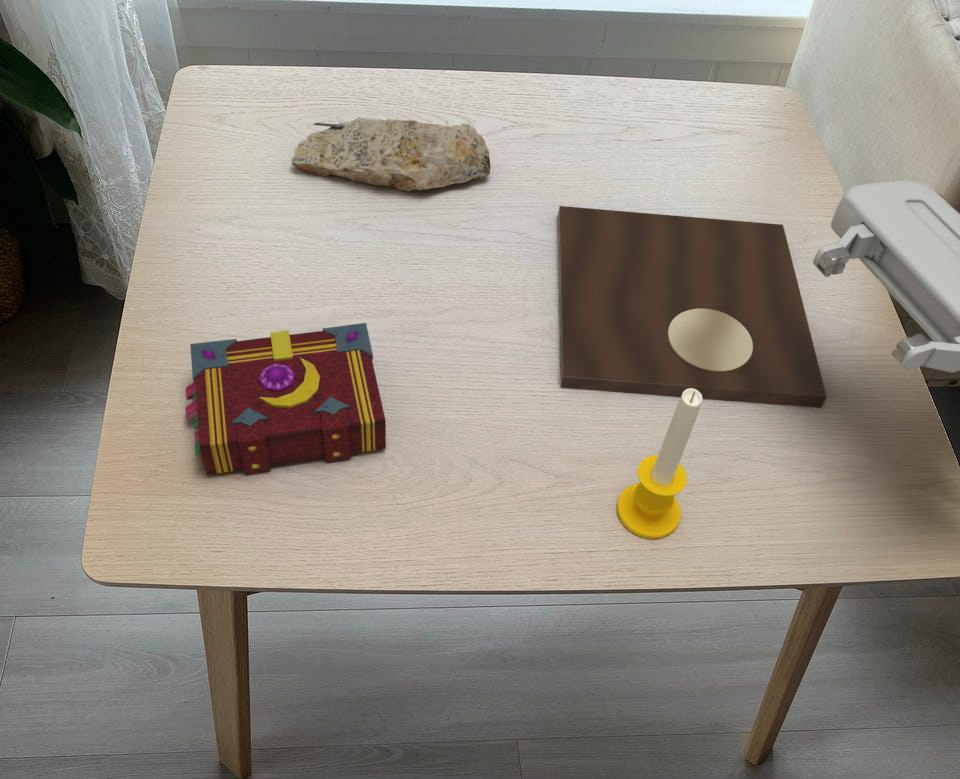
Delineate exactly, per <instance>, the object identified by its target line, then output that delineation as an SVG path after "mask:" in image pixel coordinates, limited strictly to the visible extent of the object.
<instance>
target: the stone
mask: <svg viewBox="0 0 960 779" xmlns="http://www.w3.org/2000/svg"><path fill="white" fill-rule="evenodd" d="M313 126H319V127H320V126H321V127H329V128H327V129H324V130H318V131H316V132H312V133H310V134H309V135H307V136H306V138H305V139H304V140H302V141H300V142H299V143H298V145H297V147H295V149H294V156H293V157H291V165H292V166H294V167H296V168H298V170H300V171H304V172H306V173H311V174H314V175H317V176H321V177H328V176H330V175H331V176H334V177H335V176H338V177H342V178H344V179H348V180H351V181H353V182H356V183H357V182H358V183H365V184H369V185H373V186H385V187H389V188H393V189H398V190H400V191H406V192H411V191H413V190H419V191H422V190H429V189H434V188H435V189H436V188H445V187H446V186H451V185H453V184H463V183H467V182H469V181H470V180H472V179H477V178H483V177H487V176H489V175H490V174H491V169H492V168H491V159H490V151H489V148H488V147H487V144H486V140H485V138H484V137H483V136H482V135H481V134H479V133H478V131H477V130H476V128H475V127H474V126H472V125H471V124H468V123H464V122H463V123H461V124H460V125H459V124H455V125H451V126H446V125H443V124H439V123H428V122H421V121H417V120H404V119H393V118H391V119H379V118H377V119H375V118H374V119H373V118H372V119H371V118H364V117H357V118H355V119H353V120H351V121H345V122H339V123H337V124H336V123H325V122H322V123H321V122H315V123H313Z"/></svg>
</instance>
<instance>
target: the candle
mask: <svg viewBox="0 0 960 779" xmlns="http://www.w3.org/2000/svg"><path fill="white" fill-rule="evenodd" d="M702 403H703V398H702V395H701V393H700V392H699V391H698V390H696V389H693V388H689V389H686V390H685V391H684V392H683V393H682V396H681V397H680V398H679V400H678V402H677V405H676V407H675V409H674V412H673V415H672V418H671V420H670V423H669V426H668V428H667V431H666V433H665V436H664V439H663V441H662V444H661V447H660V450H659V452H658V454H653V455H649V456H646V457H645V458H643V459H642V461H641V462H640V463H639V465H638V467H637V478H638V481H639V482H637V483H633V484H631V485H629V486H628V487H626V488H624V489H623V491H622V492H621V493H620V495H619V497H618V500H617V504H616V506H617V507H616V512H617V516H618V518H619V520H620V522H621V524H622V525H623V526H624V527H625V528H626V529H627V530H628V531H629V532H631V533H632V534H634V535H635V536H638V537H640V538H643V539H644V538H645V539H649V540H656V539H662V538H665V537H668V536H670V535H671V534H673V533H674V532H675V531H676V529H677V527H678V526H679V524H680V521H681V518H682V515H681V514H682V511H681V507H680V503H679V502H678V500H677V498H676V497H675V495H678V494H679V493H681V492H682V491H683V490H684V489H685V488H686V485H687V482H688V475H687V472H686V470H685V468H684V467H683V465H682V464H681V463H680V462H681V459H682V456H683V455H684V451H685V450H686V447H687V444H688V442H689V439H690V436H691V433H692V431H693V428H694V425H695V423H696V420H697V418H698V415H699V412H700V409H701V407H702Z"/></svg>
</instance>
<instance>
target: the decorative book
mask: <svg viewBox="0 0 960 779" xmlns="http://www.w3.org/2000/svg"><path fill="white" fill-rule="evenodd" d="M367 325H368V324H367V322H361V323H353V324H348V325H347V324H345V325H339V326H331V327H323V328H322V330H319V331H311V332H302V333H294V334H290V330H289V329H288V330H287V329H286V330H279V331H270V333H269V334H270V336H268V337H260V338H252V339H245V340H243V339H242V340H237V338H231V339H230V338H229V339H223V340H213V341H204V342H195V343H190V344H189V345H190V346H189V347H190V359H191V360H190V361H191V372H192V373H191V375H192V381H193V382H192V383H191V384H189V385H187V386H186V387H185V400H188V399H189V398H191V397H192V402H190V403H188V404H187V405H185V407H184V408H185V419H186V420H187V419H189V418H190V417H191V416H193V415H194V414H195V413H196V414H197V415H196V416H195V417H194V451H195V457H197V456H198V455H199V453H200V454H201V459H202V462H203V467H204V471H205V474H206V476H209V475H218V474H223V473H230V472H236V471H237V472H238V471H244V474H245V475H252V474H258V473H264V472H265V473H266V472H271V471H272V469H271V466H277V465H284V464H291V463H297V462H298V463H299V462H305V461H312V460H317V459H324V458H325V459H324V460H325V463H330V462H339V461H343V460H351V459H352V457H351V455H352V454H359V453H364V452H366V453H367V452H373V451H378V450H386V449H387V444H386V443H387V442H386V441H387V440H386V439H387V437H386V436H387V435H386V434H387V433H386V429H387V428H386V427H387V424H386V422H387V421H386V417H385V412H384V407H383V402H382V398H381V394H380V389H379V385H378V381H377V376H376V372H375V367H374V362H373V360H374V354H373V349H372V343H371V339H370V334H369V331H368V326H367Z"/></svg>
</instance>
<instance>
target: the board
mask: <svg viewBox="0 0 960 779" xmlns="http://www.w3.org/2000/svg"><path fill="white" fill-rule="evenodd" d="M789 246H790V245H789V243H788V238H787V235H786V231H785V227H784V224H780V223H768V222H756V221H744V220H734V219H733V220H732V219H720V218H710V217H709V218H707V217H695V216H687V215H686V216H683V215H675V214H674V215H673V214H672V215H671V214H662V213H661V214H660V213H650V212H649V213H648V212H636V211H635V212H634V211H626V210H625V211H624V210H615V209H613V210H612V209H602V208H601V209H600V208H589V207H588V208H587V207H579V206H578V207H576V206H566V205H565V206H564V205H559V207H558V213H557V247H558V248H557V252H558V253H557V254H558V255H557V256H558V296H559V297H558V305H559V306H558V307H559V308H558V309H559V311H558V312H559V352H560V353H559V354H560V356H559V357H560V387H561V388H567V389H577V390H578V389H579V390H592V391H603V392H605V391H606V392H618V393H630V394H642V395H643V394H644V395H655V396H656V395H657V396H669V397H680V398H681V396H682V393H683V392H684V391H685V390H686V389H689V388H693V389H696V390H698V391H699V392H700V393H701V395H702V399H706V400H707V399H708V400H719V401H731V402H732V401H733V402H746V403H757V404H770V405H783V406H795V407H809V408H822V407H823V406H824V403H825V401H827V398H828V397H827V393H826V389H825V385H824V381H823V377H822V373H821V369H820V365H819V361H818V357H817V353H816V349H815V345H814V341H813V338H812V334H811V330H810V325H809V322H808V318H807V313H806V310H805V306H804V302H803V298H802V294H801V290H800V287H799V282H798V278H797V275H796V270H795V267H794V263H793V258H792V254H791V250H790V247H789Z"/></svg>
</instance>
